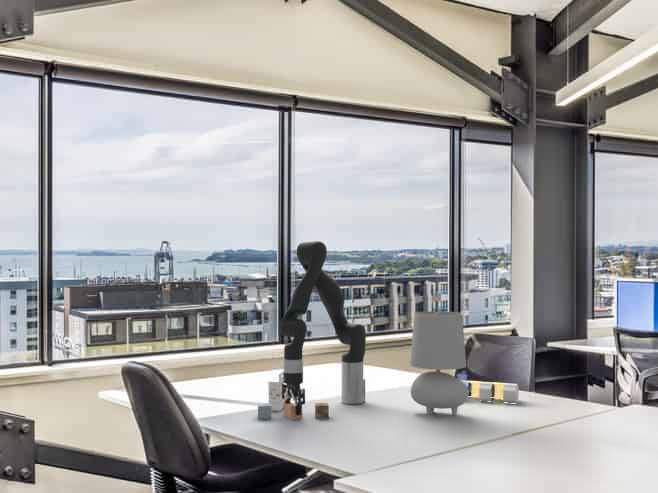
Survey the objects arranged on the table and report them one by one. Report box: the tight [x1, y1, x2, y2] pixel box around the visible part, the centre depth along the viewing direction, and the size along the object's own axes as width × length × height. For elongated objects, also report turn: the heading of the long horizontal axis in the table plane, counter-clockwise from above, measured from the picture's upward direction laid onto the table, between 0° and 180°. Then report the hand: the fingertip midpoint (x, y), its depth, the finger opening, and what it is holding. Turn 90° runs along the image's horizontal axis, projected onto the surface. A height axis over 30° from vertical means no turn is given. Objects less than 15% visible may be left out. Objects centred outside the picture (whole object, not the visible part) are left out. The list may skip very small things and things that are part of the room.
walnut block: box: [314, 402, 330, 420], centre depth 279 cm, size 5×5×5 cm
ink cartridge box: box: [267, 371, 285, 412], centre depth 294 cm, size 9×5×15 cm, turn 168°
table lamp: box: [410, 311, 469, 416], centre depth 284 cm, size 23×22×40 cm
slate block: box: [257, 402, 272, 420], centre depth 278 cm, size 5×5×5 cm
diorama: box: [456, 370, 519, 404], centre depth 311 cm, size 25×10×13 cm, turn 69°
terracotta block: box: [283, 402, 303, 420], centre depth 278 cm, size 5×5×5 cm
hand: (293, 413), depth 278 cm, fingers open, 8 cm apart
